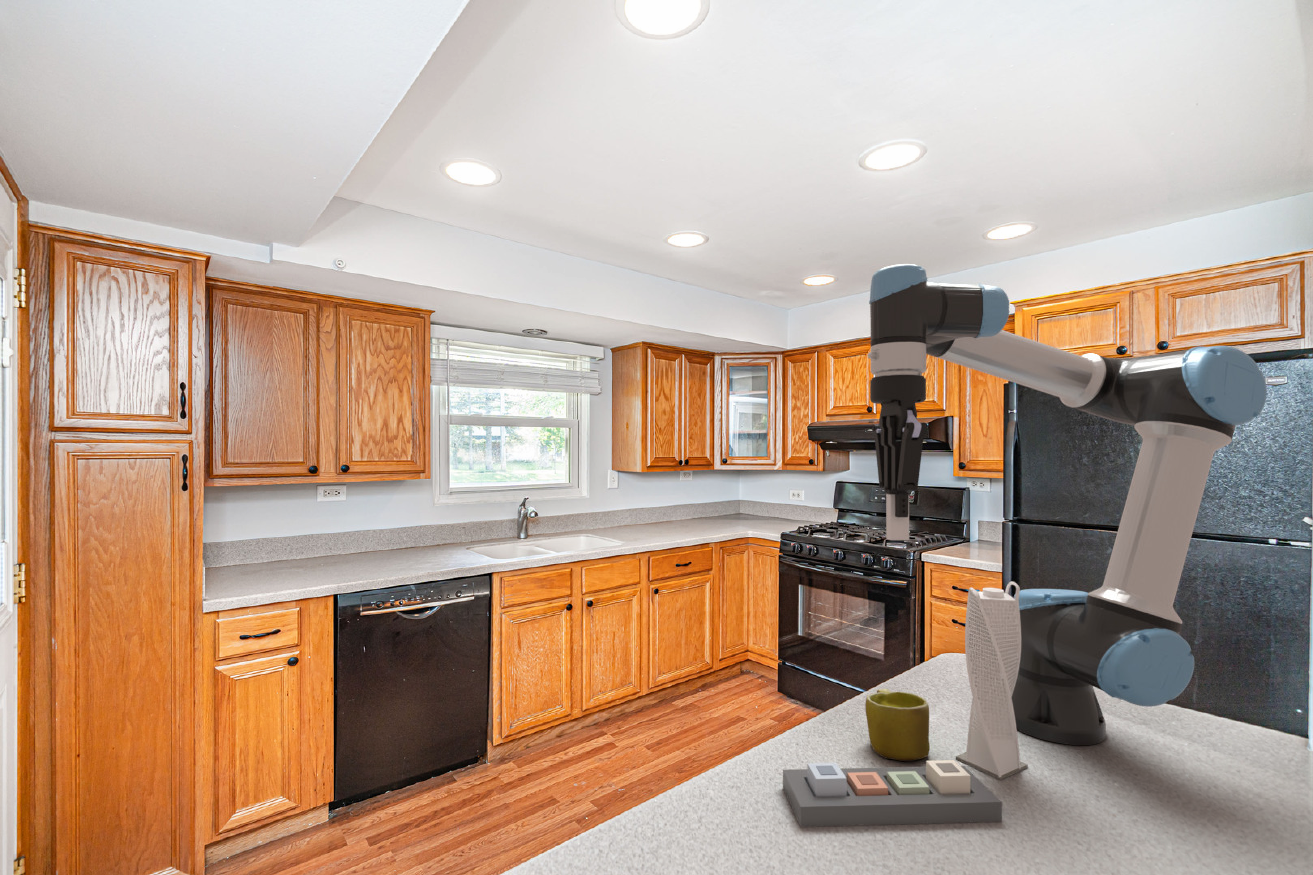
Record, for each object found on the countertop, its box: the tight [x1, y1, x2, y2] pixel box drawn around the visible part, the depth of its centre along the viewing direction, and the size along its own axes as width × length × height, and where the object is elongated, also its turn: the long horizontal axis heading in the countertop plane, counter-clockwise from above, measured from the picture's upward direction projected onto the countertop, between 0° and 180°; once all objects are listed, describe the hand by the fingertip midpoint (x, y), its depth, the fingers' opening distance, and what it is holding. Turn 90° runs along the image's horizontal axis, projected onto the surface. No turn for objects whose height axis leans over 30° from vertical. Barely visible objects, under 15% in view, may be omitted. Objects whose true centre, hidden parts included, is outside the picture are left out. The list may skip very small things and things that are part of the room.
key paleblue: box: [806, 762, 847, 797], centre depth 84 cm, size 4×4×3 cm
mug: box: [864, 688, 931, 762], centre depth 100 cm, size 12×10×10 cm
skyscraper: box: [955, 580, 1029, 781], centre depth 94 cm, size 8×8×28 cm
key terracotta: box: [847, 772, 888, 796], centre depth 84 cm, size 4×4×3 cm
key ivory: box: [925, 759, 970, 794], centre depth 85 cm, size 4×4×3 cm
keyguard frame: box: [782, 765, 1003, 828], centre depth 84 cm, size 26×9×2 cm, turn 93°
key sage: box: [887, 771, 929, 795], centre depth 84 cm, size 4×4×3 cm
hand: (897, 539), depth 91 cm, fingers closed
